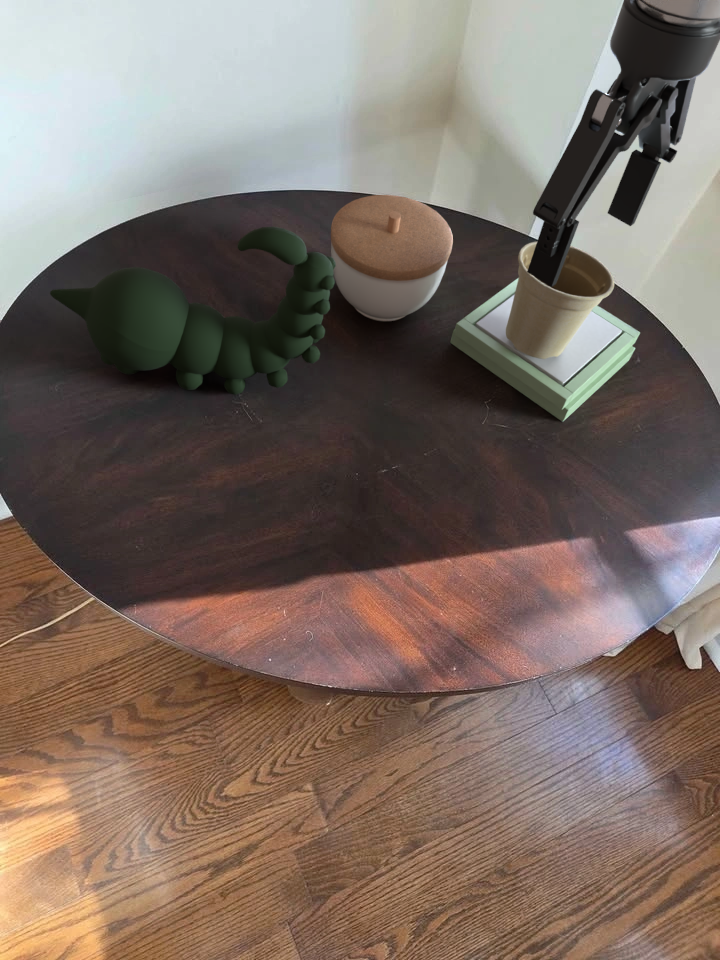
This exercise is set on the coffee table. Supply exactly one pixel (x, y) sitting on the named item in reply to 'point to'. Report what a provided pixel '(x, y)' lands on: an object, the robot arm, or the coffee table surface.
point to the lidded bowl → (389, 254)
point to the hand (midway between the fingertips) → (582, 247)
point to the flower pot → (555, 302)
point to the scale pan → (576, 354)
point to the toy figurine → (207, 320)
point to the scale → (530, 378)
